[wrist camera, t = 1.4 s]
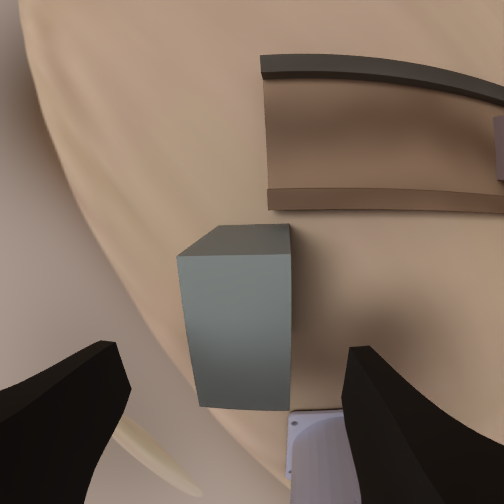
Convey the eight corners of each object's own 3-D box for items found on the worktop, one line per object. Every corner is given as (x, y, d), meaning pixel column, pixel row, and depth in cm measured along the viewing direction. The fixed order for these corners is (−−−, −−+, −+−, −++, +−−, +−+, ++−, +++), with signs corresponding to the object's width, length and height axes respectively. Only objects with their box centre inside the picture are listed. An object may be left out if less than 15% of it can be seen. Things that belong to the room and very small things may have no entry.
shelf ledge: (547, 213, 14) (565, 218, 12) (270, 206, 17) (268, 210, 14) (542, 110, 12) (559, 108, 10) (263, 66, 15) (259, 52, 13)
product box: (288, 223, 17) (291, 254, 10) (290, 334, 18) (289, 410, 12) (215, 225, 17) (171, 256, 11) (224, 334, 19) (195, 405, 12)
